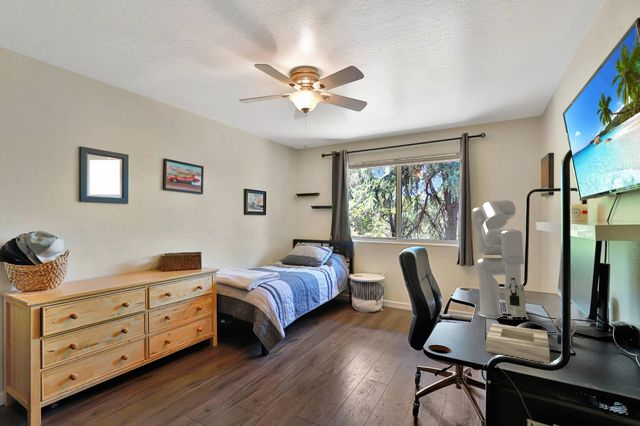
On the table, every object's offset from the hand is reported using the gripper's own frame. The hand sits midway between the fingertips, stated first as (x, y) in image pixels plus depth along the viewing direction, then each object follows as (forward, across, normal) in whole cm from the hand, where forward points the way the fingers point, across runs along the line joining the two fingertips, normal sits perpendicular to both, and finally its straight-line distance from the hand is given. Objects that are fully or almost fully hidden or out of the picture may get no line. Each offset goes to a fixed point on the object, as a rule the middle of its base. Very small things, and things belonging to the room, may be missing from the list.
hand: (515, 303), depth 123 cm
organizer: (+18, 0, 0) cm, 18 cm away
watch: (+18, -15, +16) cm, 28 cm away
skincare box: (+5, 0, 0) cm, 5 cm away
